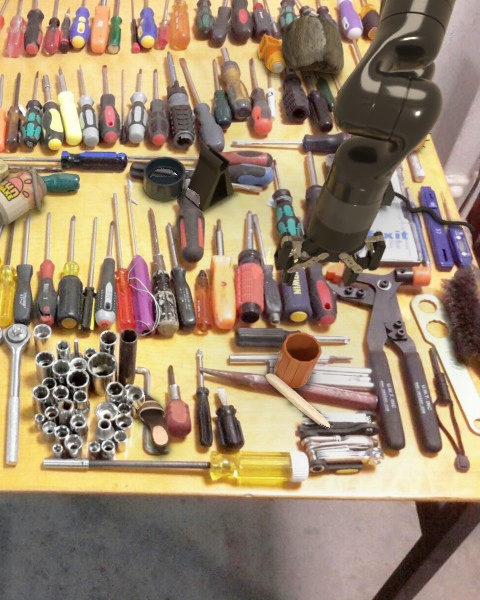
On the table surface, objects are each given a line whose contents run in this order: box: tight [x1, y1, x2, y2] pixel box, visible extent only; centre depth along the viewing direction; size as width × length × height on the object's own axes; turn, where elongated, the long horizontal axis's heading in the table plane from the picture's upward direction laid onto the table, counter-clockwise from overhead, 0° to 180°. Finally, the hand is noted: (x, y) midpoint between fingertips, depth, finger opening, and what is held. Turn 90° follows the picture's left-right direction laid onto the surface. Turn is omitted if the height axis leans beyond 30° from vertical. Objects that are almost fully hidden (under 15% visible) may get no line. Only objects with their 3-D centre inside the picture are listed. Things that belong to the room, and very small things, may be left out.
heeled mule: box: [136, 393, 170, 453], centre depth 106 cm, size 4×11×4 cm, turn 13°
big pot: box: [142, 156, 187, 202], centre depth 138 cm, size 9×9×5 cm
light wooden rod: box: [265, 373, 331, 430], centre depth 108 cm, size 2×14×2 cm, turn 39°
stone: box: [281, 14, 345, 75], centre depth 155 cm, size 12×15×15 cm
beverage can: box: [0, 167, 48, 226], centre depth 136 cm, size 9×8×12 cm
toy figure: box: [256, 34, 287, 74], centre depth 160 cm, size 5×6×12 cm
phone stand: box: [186, 143, 235, 212], centre depth 133 cm, size 9×6×12 cm, turn 123°
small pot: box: [273, 331, 323, 389], centre depth 108 cm, size 6×6×9 cm
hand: (316, 281), depth 95 cm, fingers open, 8 cm apart
